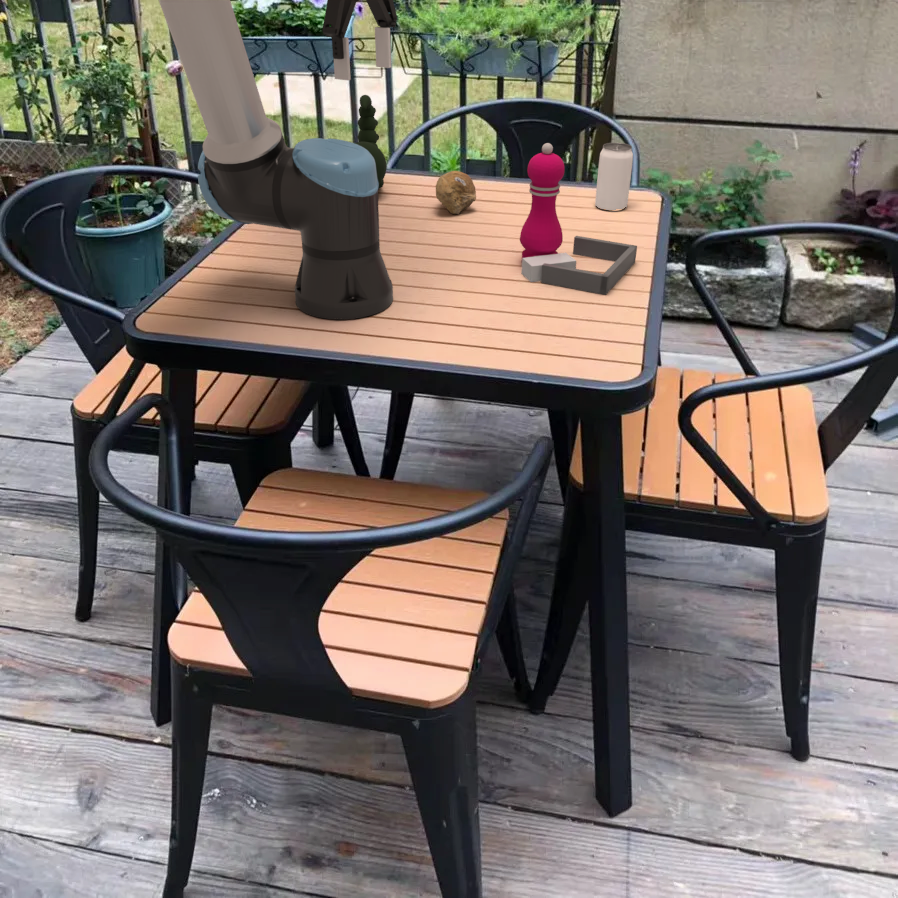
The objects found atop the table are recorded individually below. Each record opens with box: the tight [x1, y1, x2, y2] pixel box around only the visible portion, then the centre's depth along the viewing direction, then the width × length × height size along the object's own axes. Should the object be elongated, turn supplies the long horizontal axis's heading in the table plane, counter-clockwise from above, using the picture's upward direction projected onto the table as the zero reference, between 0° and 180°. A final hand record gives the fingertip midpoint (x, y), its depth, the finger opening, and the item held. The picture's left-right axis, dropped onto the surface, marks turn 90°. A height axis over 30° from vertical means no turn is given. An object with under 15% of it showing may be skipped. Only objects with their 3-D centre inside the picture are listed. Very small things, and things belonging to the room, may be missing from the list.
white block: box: [520, 252, 577, 283], centre depth 144 cm, size 8×4×3 cm, turn 109°
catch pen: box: [540, 235, 638, 296], centre depth 145 cm, size 16×11×3 cm
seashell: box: [435, 170, 477, 215], centre depth 173 cm, size 14×8×8 cm, turn 5°
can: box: [594, 142, 634, 210], centre depth 172 cm, size 6×6×12 cm
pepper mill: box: [519, 142, 565, 259], centre depth 143 cm, size 7×7×20 cm
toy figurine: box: [353, 94, 388, 190], centre depth 180 cm, size 9×19×25 cm
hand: (363, 73), depth 152 cm, fingers open, 13 cm apart
